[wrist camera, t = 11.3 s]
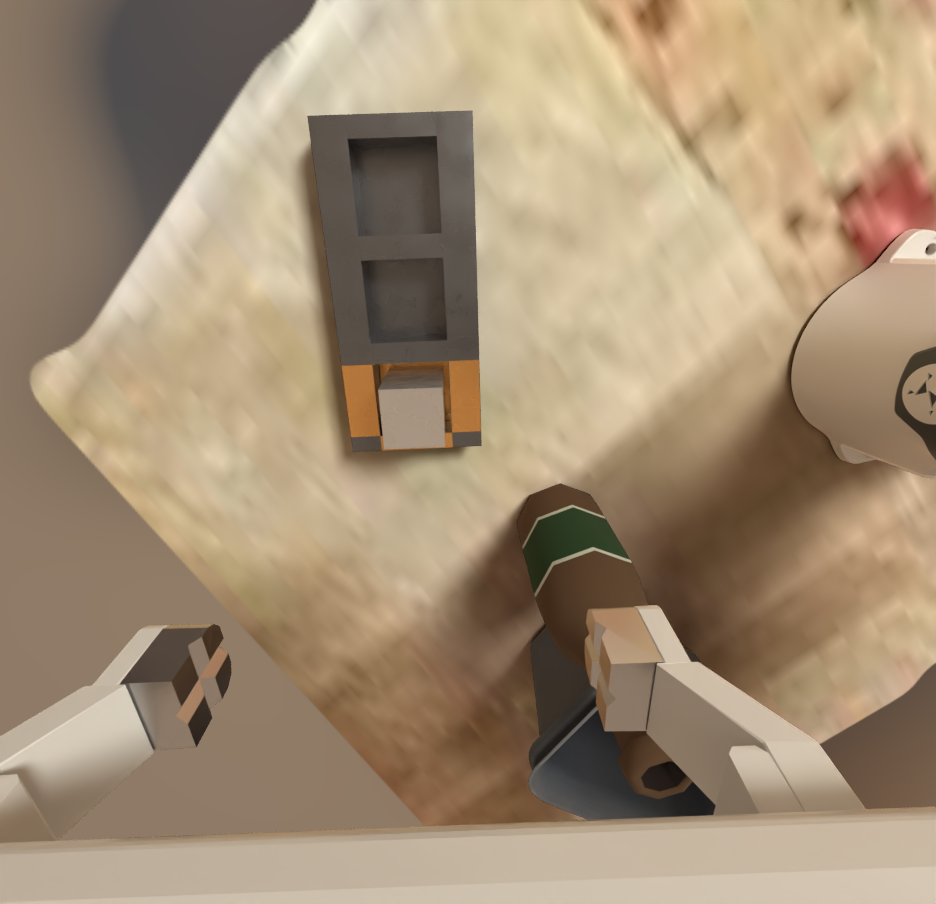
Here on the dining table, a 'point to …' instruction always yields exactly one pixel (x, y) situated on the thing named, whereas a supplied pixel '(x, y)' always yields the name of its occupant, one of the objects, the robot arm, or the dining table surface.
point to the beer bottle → (589, 604)
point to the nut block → (413, 407)
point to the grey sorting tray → (401, 258)
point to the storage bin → (587, 749)
